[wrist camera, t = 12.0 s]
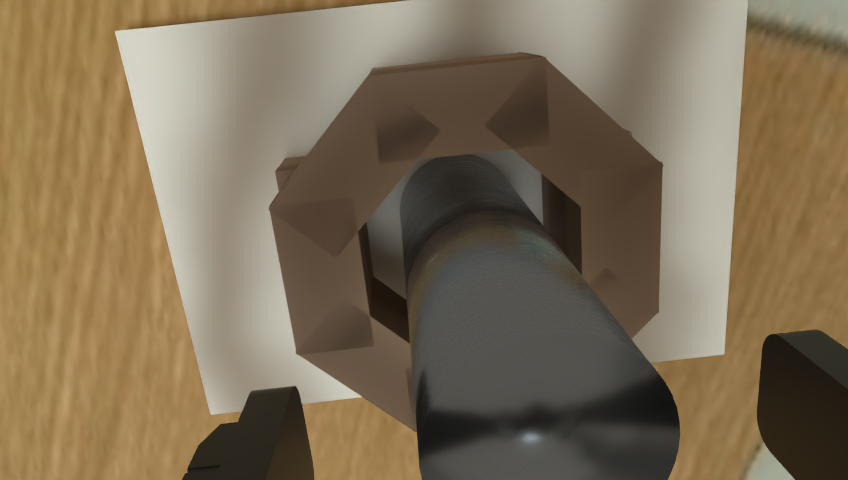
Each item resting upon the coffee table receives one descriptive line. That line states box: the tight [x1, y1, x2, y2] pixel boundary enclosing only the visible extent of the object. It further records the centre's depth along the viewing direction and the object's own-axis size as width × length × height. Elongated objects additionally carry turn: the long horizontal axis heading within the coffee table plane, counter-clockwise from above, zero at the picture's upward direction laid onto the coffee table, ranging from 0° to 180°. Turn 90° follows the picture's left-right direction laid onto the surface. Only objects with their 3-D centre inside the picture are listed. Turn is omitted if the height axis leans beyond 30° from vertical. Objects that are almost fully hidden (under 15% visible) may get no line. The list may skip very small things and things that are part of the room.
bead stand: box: [115, 0, 748, 432], centre depth 20 cm, size 20×14×6 cm
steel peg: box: [400, 154, 680, 480], centre depth 16 cm, size 4×4×13 cm
